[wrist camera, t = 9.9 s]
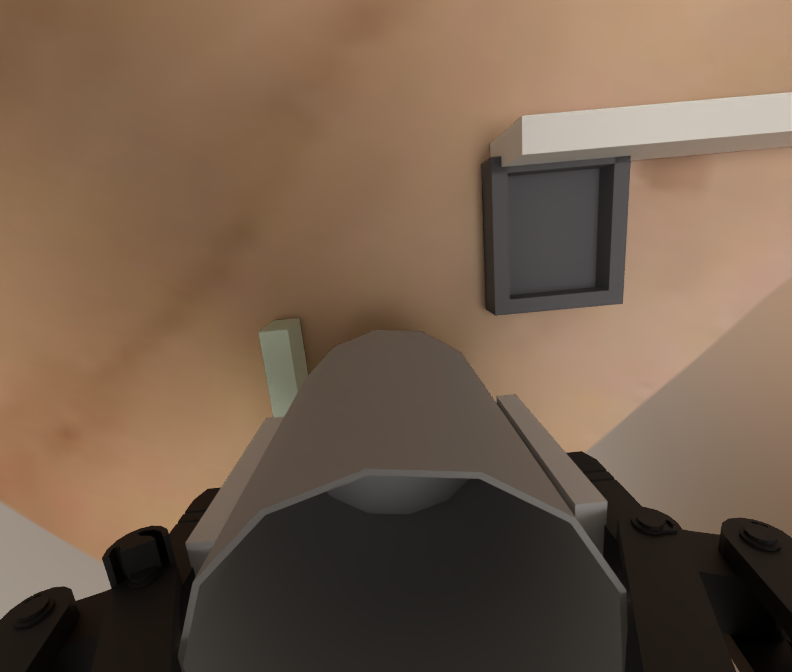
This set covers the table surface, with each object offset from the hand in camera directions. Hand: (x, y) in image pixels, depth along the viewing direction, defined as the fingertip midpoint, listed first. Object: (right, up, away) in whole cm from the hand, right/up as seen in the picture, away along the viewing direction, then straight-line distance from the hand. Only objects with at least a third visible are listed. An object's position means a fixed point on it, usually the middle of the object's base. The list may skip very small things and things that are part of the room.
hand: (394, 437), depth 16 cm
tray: (+9, +10, +7) cm, 15 cm away
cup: (0, 0, +2) cm, 2 cm away
